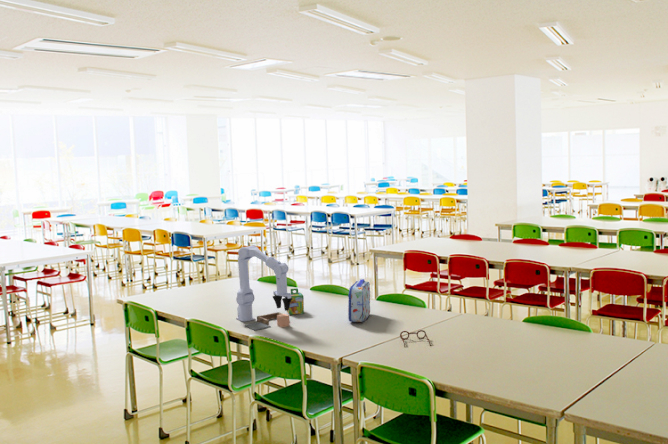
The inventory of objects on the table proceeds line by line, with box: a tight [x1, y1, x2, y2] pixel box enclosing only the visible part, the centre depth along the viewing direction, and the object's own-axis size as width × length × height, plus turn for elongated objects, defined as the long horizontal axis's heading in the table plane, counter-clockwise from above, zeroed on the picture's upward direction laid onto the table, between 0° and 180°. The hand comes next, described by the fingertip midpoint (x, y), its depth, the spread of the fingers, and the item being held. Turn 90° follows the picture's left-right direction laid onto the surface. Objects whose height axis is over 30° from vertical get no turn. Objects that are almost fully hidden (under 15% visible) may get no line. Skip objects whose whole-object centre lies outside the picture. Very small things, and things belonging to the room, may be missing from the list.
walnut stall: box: [256, 311, 283, 326], centre depth 334 cm, size 12×14×3 cm
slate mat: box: [244, 321, 272, 331], centre depth 324 cm, size 12×10×1 cm
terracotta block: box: [276, 313, 290, 328], centre depth 324 cm, size 5×5×6 cm
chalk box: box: [286, 287, 305, 316], centre depth 352 cm, size 9×9×15 cm
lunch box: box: [347, 279, 371, 323], centre depth 333 cm, size 28×10×22 cm, turn 168°
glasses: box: [399, 329, 432, 348], centre depth 286 cm, size 13×13×5 cm
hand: (282, 309), depth 324 cm, fingers open, 7 cm apart
